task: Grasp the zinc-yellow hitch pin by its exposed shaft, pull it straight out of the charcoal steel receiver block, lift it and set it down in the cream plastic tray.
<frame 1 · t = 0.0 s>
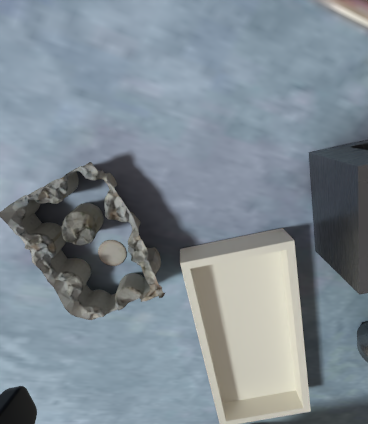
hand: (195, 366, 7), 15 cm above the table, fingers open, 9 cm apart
tray: (246, 325, 25), on the table
egg carton: (100, 234, 22), on the table
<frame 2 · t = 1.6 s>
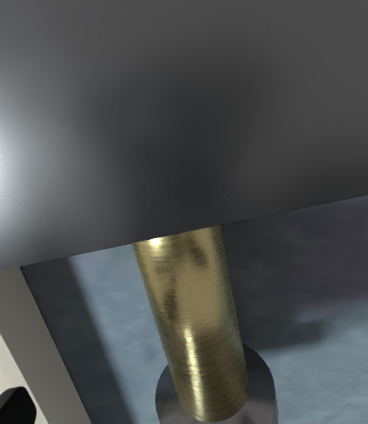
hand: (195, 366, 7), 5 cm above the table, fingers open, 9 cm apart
receiver block: (140, 56, 9), on the table
pin: (207, 340, 13), on the table, touching receiver block
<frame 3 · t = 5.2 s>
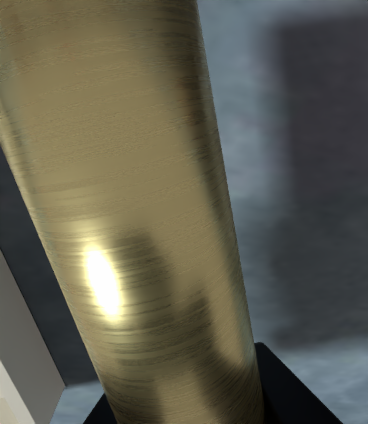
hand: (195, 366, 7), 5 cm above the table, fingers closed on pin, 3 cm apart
pin: (216, 423, 9), point 4 cm above the table, touching gripper
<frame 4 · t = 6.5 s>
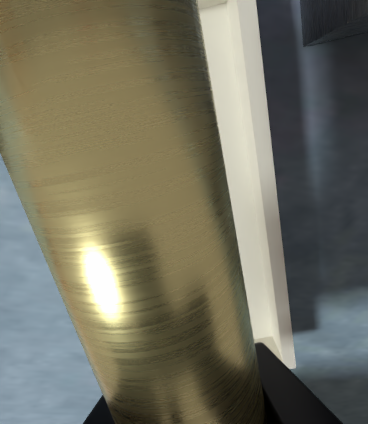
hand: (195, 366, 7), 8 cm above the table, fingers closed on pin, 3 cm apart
tray: (180, 213, 14), on the table
when the fingers open (3 cm above the table, at t = 7.5 s): pin drops 2 cm, resting on tray.
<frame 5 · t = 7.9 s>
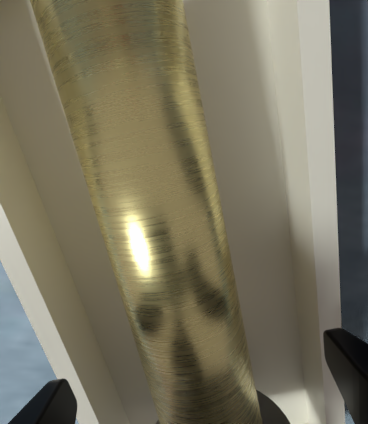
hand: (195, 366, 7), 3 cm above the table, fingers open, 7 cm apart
tray: (182, 261, 10), on the table
pin: (211, 382, 11), point 1 cm above the table, touching tray
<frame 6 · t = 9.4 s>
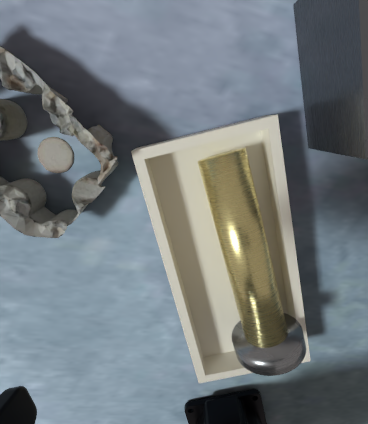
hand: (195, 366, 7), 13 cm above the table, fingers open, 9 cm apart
tray: (226, 253, 20), on the table
pin: (242, 318, 21), point 1 cm above the table, tilted 30°, touching tray
egg carton: (34, 139, 18), on the table
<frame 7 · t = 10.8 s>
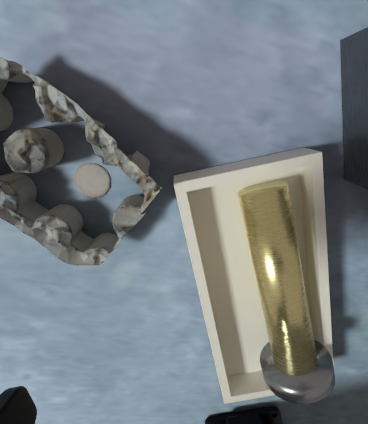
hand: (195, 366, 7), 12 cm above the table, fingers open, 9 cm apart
tray: (255, 278, 20), on the table
pin: (268, 341, 21), point 1 cm above the table, tilted 30°, touching tray
egg carton: (70, 165, 18), on the table
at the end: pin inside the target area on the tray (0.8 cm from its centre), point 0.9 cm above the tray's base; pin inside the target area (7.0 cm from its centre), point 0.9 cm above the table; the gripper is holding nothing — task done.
